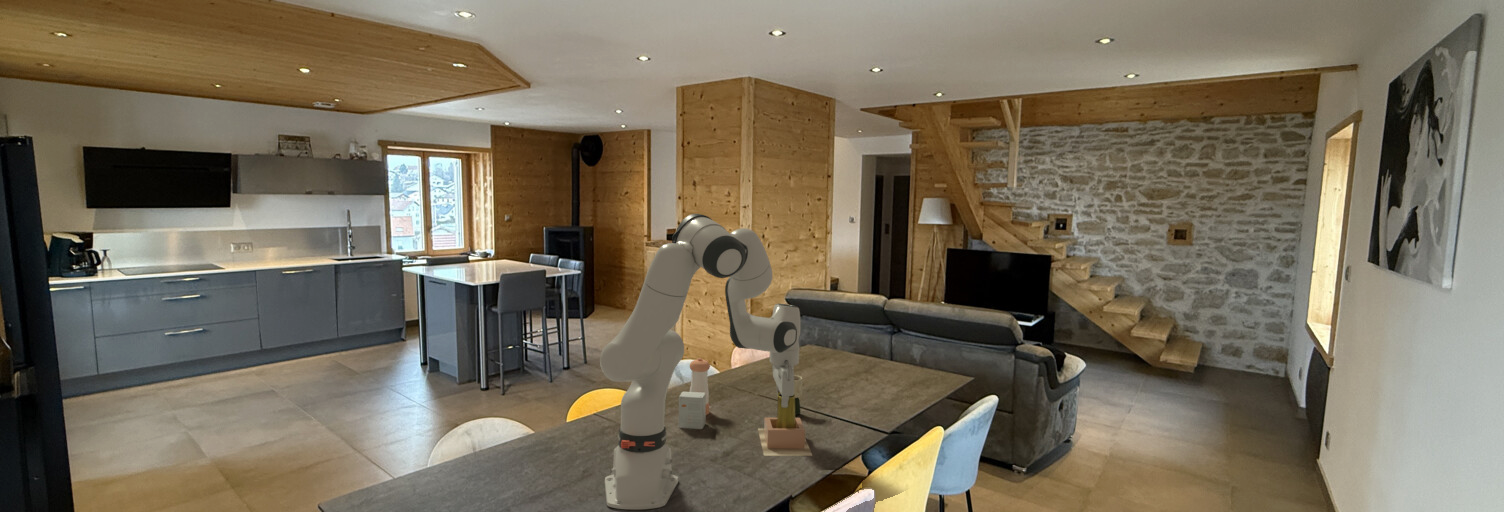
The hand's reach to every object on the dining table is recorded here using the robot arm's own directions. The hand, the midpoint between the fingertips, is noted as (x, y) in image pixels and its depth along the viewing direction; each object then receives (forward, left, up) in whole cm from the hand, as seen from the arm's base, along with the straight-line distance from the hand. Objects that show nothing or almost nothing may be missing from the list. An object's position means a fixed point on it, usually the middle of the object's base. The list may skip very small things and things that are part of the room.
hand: (782, 401), depth 196 cm
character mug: (+27, -7, -13) cm, 31 cm away
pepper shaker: (+28, +25, -13) cm, 40 cm away
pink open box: (-1, -1, -12) cm, 12 cm away
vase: (-1, -2, -12) cm, 12 cm away
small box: (+15, +27, -13) cm, 34 cm away
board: (-1, -1, -13) cm, 13 cm away
